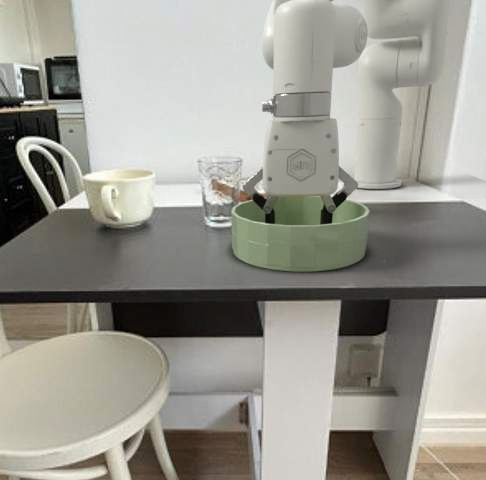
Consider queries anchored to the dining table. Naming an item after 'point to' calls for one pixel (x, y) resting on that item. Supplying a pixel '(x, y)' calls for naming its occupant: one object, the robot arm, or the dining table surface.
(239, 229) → the bowl
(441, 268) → the dining table surface
